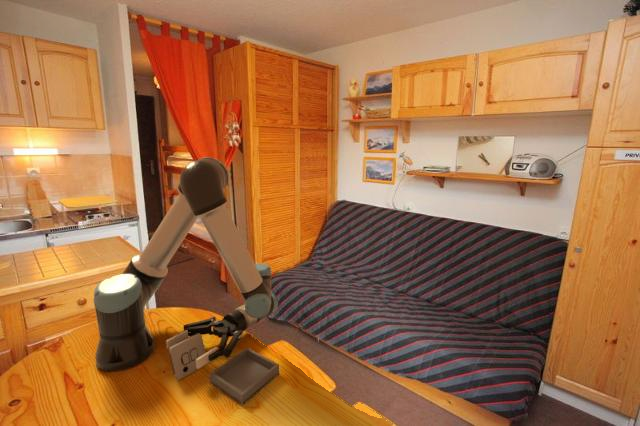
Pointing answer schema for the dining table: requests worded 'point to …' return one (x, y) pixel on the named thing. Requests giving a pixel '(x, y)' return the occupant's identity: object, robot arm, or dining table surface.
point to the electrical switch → (186, 355)
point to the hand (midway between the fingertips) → (181, 354)
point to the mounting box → (244, 375)
